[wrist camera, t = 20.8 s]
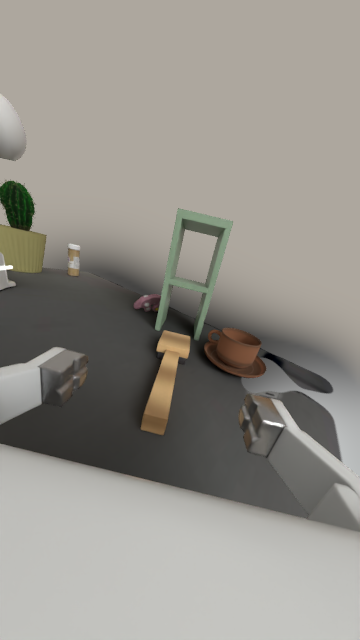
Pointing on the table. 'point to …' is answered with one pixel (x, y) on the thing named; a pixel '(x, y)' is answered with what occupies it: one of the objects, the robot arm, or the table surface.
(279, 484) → the table surface
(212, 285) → the sage stand
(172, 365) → the desk brush
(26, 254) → the potted cactus
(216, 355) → the cup and saucer
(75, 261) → the sprinkles bottle
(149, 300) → the video game controller
